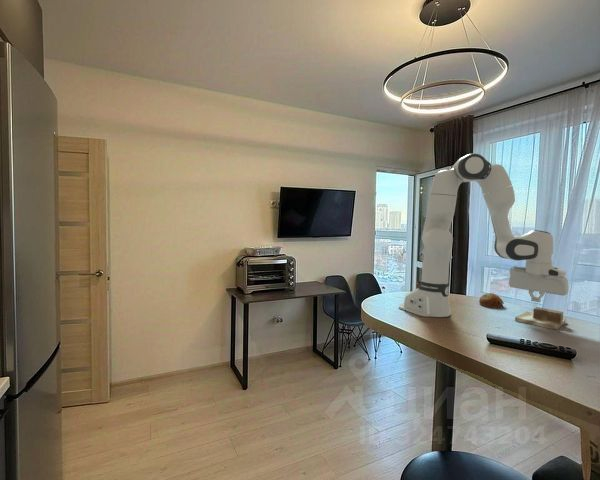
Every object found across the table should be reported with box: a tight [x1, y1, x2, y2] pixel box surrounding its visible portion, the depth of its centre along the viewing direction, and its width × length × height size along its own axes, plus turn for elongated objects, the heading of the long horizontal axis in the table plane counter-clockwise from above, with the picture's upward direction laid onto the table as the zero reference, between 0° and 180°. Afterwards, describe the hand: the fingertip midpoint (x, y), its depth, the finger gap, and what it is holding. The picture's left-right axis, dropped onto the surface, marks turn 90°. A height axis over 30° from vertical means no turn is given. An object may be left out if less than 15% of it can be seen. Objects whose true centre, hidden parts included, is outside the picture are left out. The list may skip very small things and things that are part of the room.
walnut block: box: [532, 306, 564, 323], centre depth 133 cm, size 4×4×9 cm
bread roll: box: [478, 292, 505, 309], centre depth 160 cm, size 10×10×8 cm
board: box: [514, 311, 567, 331], centre depth 135 cm, size 14×14×2 cm
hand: (535, 301), depth 135 cm, fingers closed
